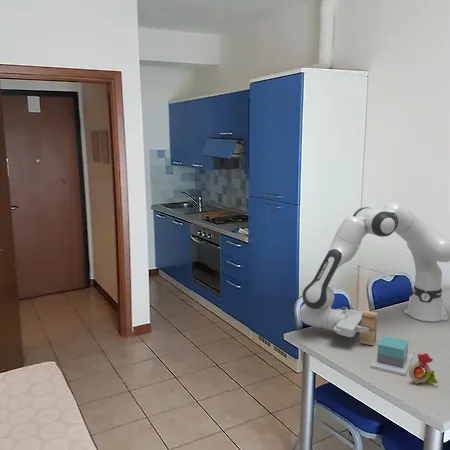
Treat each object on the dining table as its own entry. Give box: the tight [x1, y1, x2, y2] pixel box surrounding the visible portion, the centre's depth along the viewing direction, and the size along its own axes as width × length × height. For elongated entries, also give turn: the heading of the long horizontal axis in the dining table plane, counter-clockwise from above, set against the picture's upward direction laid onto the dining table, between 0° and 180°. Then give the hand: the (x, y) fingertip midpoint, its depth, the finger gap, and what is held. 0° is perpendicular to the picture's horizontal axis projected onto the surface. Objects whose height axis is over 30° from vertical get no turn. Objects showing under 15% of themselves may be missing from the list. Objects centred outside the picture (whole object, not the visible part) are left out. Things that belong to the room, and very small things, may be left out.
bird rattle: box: [408, 353, 439, 386], centre depth 158 cm, size 6×11×9 cm
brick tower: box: [370, 335, 414, 377], centre depth 173 cm, size 16×12×8 cm
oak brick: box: [360, 310, 378, 346], centre depth 189 cm, size 5×5×12 cm
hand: (371, 327), depth 188 cm, fingers closed on oak brick, 5 cm apart
